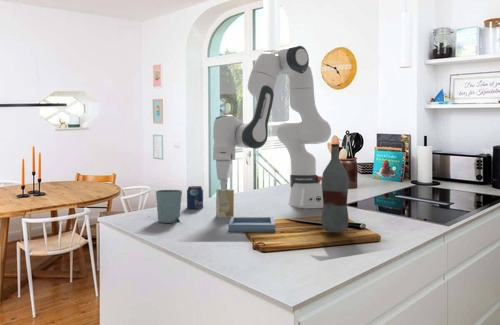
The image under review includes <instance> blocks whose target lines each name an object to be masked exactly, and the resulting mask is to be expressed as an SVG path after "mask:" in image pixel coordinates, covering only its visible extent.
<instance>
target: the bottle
mask: <svg viewBox="0 0 500 325" xmlns="http://www.w3.org/2000/svg"><path fill="white" fill-rule="evenodd" d="M330 146H331V147H330V148H331V151H330V152H331V153H330V160H329V162H328V164H327V165H326V166H325V169H324V170H323V172H322V175H321V177H322V180H321V184H322V193H323V208H322V210H321V227H322V229H323V231H324V230H325V231H324V232H329V233H344V231H345V232H347V231H348V228H349V212H348V206H347V205H348V195H349V194H348V193H349V184H350V183H349V174H348V172H347V170H346V169H345V167H344V165H343V164H342V162H341V160H340V149H339V147H340V144H339V143H331V144H330Z"/></svg>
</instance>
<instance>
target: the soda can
mask: <svg viewBox="0 0 500 325" xmlns="http://www.w3.org/2000/svg"><path fill="white" fill-rule="evenodd" d="M186 209H187V210H193V211H195V210H196V211H197V210H202V209H204V190H203V187H202V186H199V185H195V186H194V185H191V186H188V187H187V190H186Z"/></svg>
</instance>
